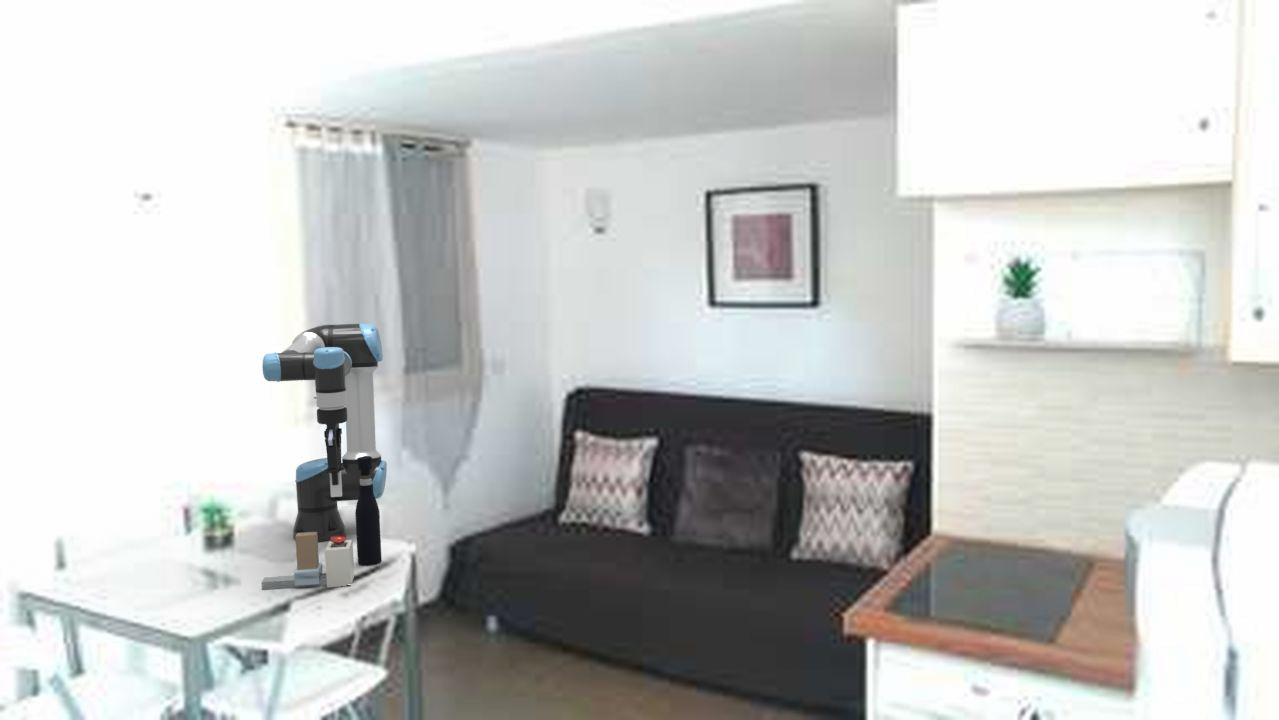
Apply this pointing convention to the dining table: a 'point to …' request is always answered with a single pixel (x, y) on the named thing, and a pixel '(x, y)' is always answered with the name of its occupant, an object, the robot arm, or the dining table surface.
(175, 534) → the dining table surface
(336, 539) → the red mushroom push button
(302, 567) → the carriage
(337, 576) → the white button housing
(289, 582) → the rail
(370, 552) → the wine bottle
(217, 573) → the dining table surface
